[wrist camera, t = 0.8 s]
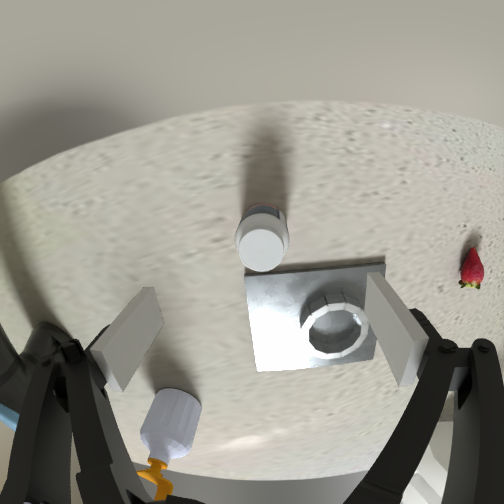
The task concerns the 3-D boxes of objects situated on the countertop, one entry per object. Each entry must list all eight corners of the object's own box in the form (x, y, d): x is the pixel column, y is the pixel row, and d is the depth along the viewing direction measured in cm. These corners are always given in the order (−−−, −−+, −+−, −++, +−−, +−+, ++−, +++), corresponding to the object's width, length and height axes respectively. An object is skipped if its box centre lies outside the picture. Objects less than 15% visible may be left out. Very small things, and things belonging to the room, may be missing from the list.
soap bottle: (173, 380, 42) (126, 500, 19) (211, 407, 44) (184, 523, 21) (148, 395, 44) (103, 496, 21) (183, 420, 46) (152, 519, 23)
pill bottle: (232, 219, 32) (217, 242, 23) (269, 193, 30) (267, 208, 22) (258, 254, 33) (253, 288, 25) (295, 231, 32) (302, 258, 23)
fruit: (479, 248, 30) (498, 260, 25) (465, 283, 32) (482, 298, 27) (463, 242, 30) (483, 254, 25) (449, 279, 32) (466, 294, 27)
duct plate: (257, 367, 39) (256, 381, 36) (244, 274, 34) (242, 284, 31) (371, 355, 37) (376, 368, 34) (383, 261, 32) (392, 271, 29)
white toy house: (459, 420, 45) (487, 484, 22) (424, 451, 50) (442, 512, 27) (420, 421, 44) (448, 503, 21) (381, 453, 49) (396, 528, 26)
